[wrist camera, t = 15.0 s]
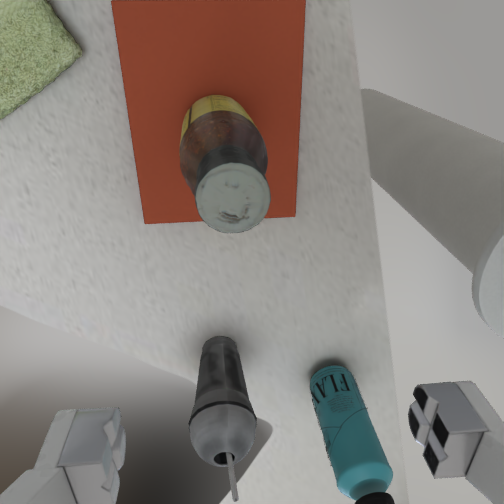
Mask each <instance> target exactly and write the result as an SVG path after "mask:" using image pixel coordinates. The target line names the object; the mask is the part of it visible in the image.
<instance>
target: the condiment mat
mask: <svg viewBox="0 0 504 504" xmlns="http://www.w3.org/2000/svg"><path fill="white" fill-rule="evenodd" d="M111 4H112V10H113V17H114V24H115V30H116V37H117V44H118V50H119V57H120V63H121V70H122V77H123V83H124V90H125V97H126V103H127V110H128V117H129V123H130V130H131V136H132V143H133V150H134V156H135V163H136V170H137V176H138V183H139V189H140V196H141V203H142V209H143V216H144V223H145V224H156V223H177V222H197V221H203V220H202V218H201V217H200V215H199V213H198V210H197V207H196V204H195V197H194V195H193V194H192V191H191V189H190V187H189V186H188V185H187V183H186V181H185V178H184V176H183V175H182V172H181V168H180V156H179V149H180V140H181V132H182V125H183V121H184V117H185V115H186V113H187V111H188V110H189V108H190V107H191V106H192V105H193V104H194V103H195V102H196V101H198V100H199V99H201V98H203V97H206V96H210V95H211V94H214V95H223V96H227V97H230V98H232V99H234V100H235V101H237V102H238V103H239V104H240V105H241V106H242V107H243V108H244V110H245V111H246V113H247V114H248V115H249V117H250V118H251V119H252V121H253V122H254V124H255V125H256V127H257V129H258V130H259V132H260V134H261V135H262V137H263V140H264V142H265V145H266V148H267V155H268V166H267V171H266V174H265V177H266V179H267V181H268V184H269V188H270V193H271V202H270V205H269V209H268V211H267V214H266V215H265V217H264V218H279V217H295V213H296V192H297V171H298V150H299V130H300V109H301V88H302V67H303V47H304V26H305V5H306V0H112V1H111Z"/></svg>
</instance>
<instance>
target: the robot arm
mask: <svg viewBox="0 0 504 504" xmlns="http://www.w3.org/2000/svg"><path fill="white" fill-rule="evenodd" d="M413 395H414V397H415V399H416V401H414V402H413V403H412V404H411V405H410V408H409V413H408V417H409V425H410V429H411V432H412V434H413V436H414V438H415V440H416V441H417V442H418V443H420V444H421V445H422V446H424V447H425V448H424V453H423V457H424V459H425V461H426V463H427V465H428V467H429V469H430V470H431V473H432V475H433V477H434V478H451V477H466V479H467V480H468V481H469V482H470V483H471V484H472V485H473V486H474V487H476V488H477V489H478V490H479V491H480V492H481V493H482V494H483V495H484V496H485V497H486V498H488V499H489V500H490V501H491V502H492V503H493V504H504V422H503V421H502V420H501V418H500V417H499V415H498V414H497V413H496V411H495V410H494V409H493V407H492V406H491V405H490V403H489V402H488V401H487V399H486V398H485V397H484V395H483V394H482V392H481V391H480V390H479V388H478V387H477V386H476V384H475V383H473V382H472V381H461V382H460V381H459V382H443V383H432V384H420V385H417V386H416V387H415V389H414V392H413ZM120 420H121V413H120V410H119V408H117V407H114V408H93V409H76V410H60V411H59V412H58V413H57V414H56V415H55V416H54V418H53V421H52V424H51V426H50V428H49V431H48V434H47V436H46V439H45V441H44V443H43V446H42V448H41V451H40V453H39V456H38V458H37V461H36V464H35V466H34V468H33V469H31V470H26V471H25V472H24V473H23V474H22V475H21V476H20V477H19V478H18V479H17V480H16V481H15V482H14V483H13V484H11V485H10V486H9V487H8V488H7V489H6V490H5V491H4V492H3V493H2V494H1V495H0V504H116V499H117V494H118V489H119V484H120V479H119V476H118V472H117V471H118V470H119V469H120V468H121V467H122V466H123V464H124V458H125V451H126V436H125V430H124V427H123V426H121V425H120Z"/></svg>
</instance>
